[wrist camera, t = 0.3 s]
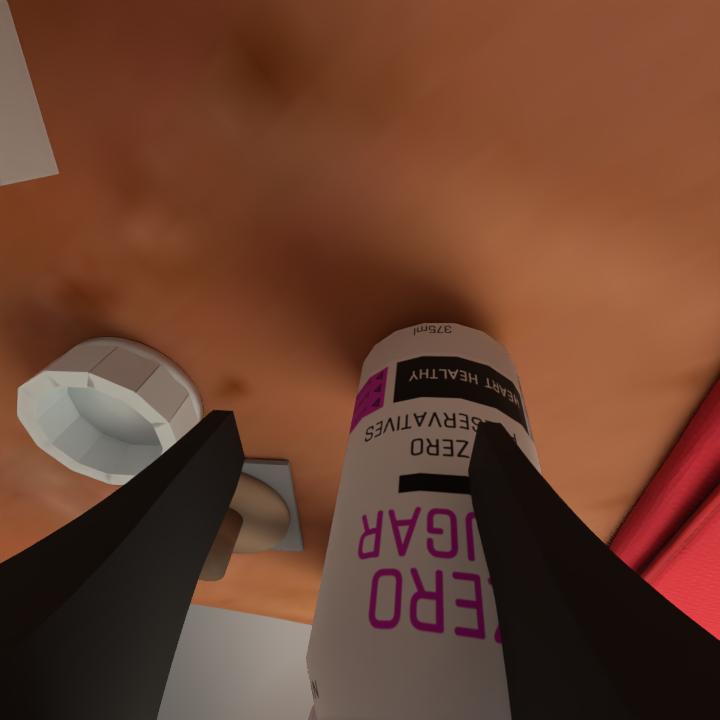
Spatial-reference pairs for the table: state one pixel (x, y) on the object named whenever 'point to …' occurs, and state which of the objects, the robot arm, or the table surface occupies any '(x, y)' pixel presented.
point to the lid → (247, 525)
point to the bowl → (109, 408)
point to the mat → (281, 481)
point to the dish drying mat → (682, 522)
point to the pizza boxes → (19, 113)
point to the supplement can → (415, 537)
